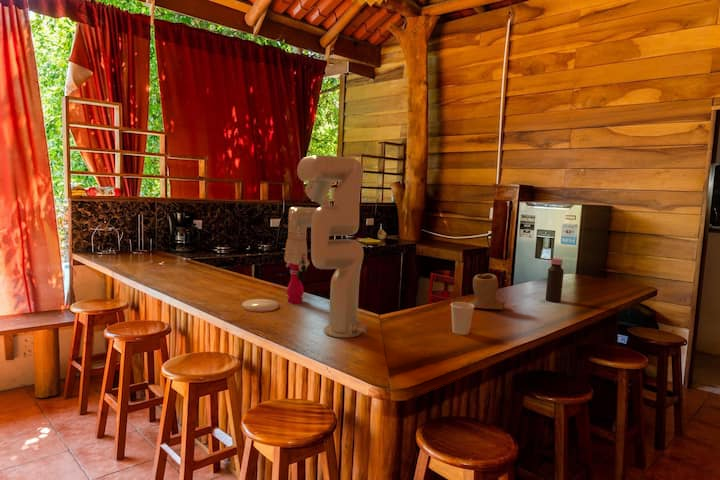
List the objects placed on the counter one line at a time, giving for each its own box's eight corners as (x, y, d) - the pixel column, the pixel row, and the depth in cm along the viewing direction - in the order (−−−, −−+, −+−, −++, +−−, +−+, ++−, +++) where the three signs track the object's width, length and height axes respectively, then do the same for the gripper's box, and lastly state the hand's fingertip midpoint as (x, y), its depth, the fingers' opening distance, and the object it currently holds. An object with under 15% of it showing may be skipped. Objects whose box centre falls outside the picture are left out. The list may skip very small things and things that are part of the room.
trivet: (285, 306, 191) (285, 302, 191) (262, 313, 179) (262, 309, 179) (258, 300, 198) (258, 297, 198) (234, 307, 186) (234, 303, 186)
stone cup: (469, 310, 200) (471, 275, 198) (468, 303, 211) (471, 270, 210) (506, 314, 197) (509, 278, 195) (504, 307, 208) (507, 273, 206)
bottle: (558, 299, 229) (562, 258, 226) (562, 303, 222) (566, 260, 220) (543, 298, 229) (547, 257, 227) (547, 302, 223) (551, 259, 220)
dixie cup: (455, 327, 174) (457, 300, 172) (476, 332, 168) (478, 305, 167) (444, 332, 167) (446, 304, 166) (465, 337, 162) (468, 309, 161)
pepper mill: (306, 300, 202) (307, 254, 200) (299, 304, 196) (301, 256, 193) (290, 298, 204) (292, 252, 202) (283, 302, 197) (284, 254, 195)
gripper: (277, 234, 201) (276, 275, 202) (302, 239, 188) (301, 283, 190) (292, 234, 206) (290, 274, 208) (317, 238, 193) (315, 281, 195)
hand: (295, 278), depth 199 cm, fingers open, 7 cm apart
